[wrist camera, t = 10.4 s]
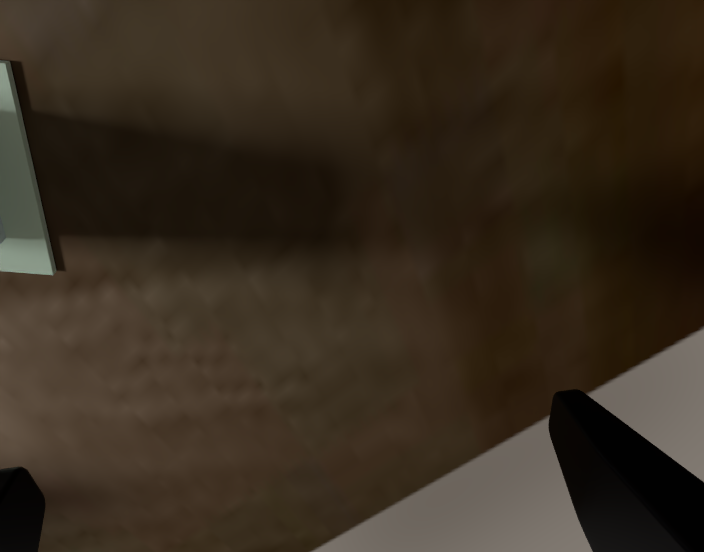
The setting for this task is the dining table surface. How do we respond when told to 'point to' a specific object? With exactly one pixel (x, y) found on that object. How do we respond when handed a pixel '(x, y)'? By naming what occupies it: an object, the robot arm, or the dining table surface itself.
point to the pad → (19, 191)
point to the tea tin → (2, 232)
